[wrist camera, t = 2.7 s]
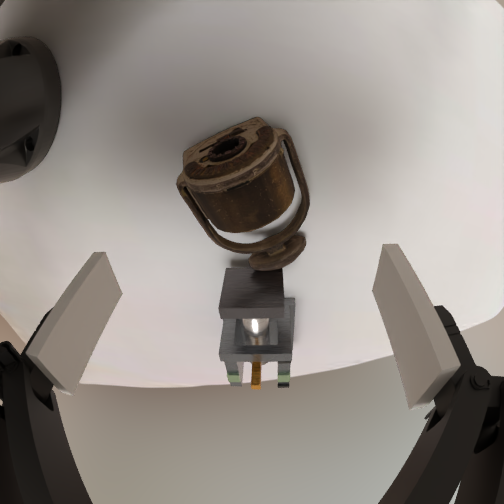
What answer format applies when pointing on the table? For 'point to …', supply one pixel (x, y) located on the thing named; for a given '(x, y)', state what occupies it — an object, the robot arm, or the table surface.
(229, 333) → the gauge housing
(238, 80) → the table surface
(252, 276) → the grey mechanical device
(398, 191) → the table surface
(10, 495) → the robot arm
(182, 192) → the brown drum with yoke
